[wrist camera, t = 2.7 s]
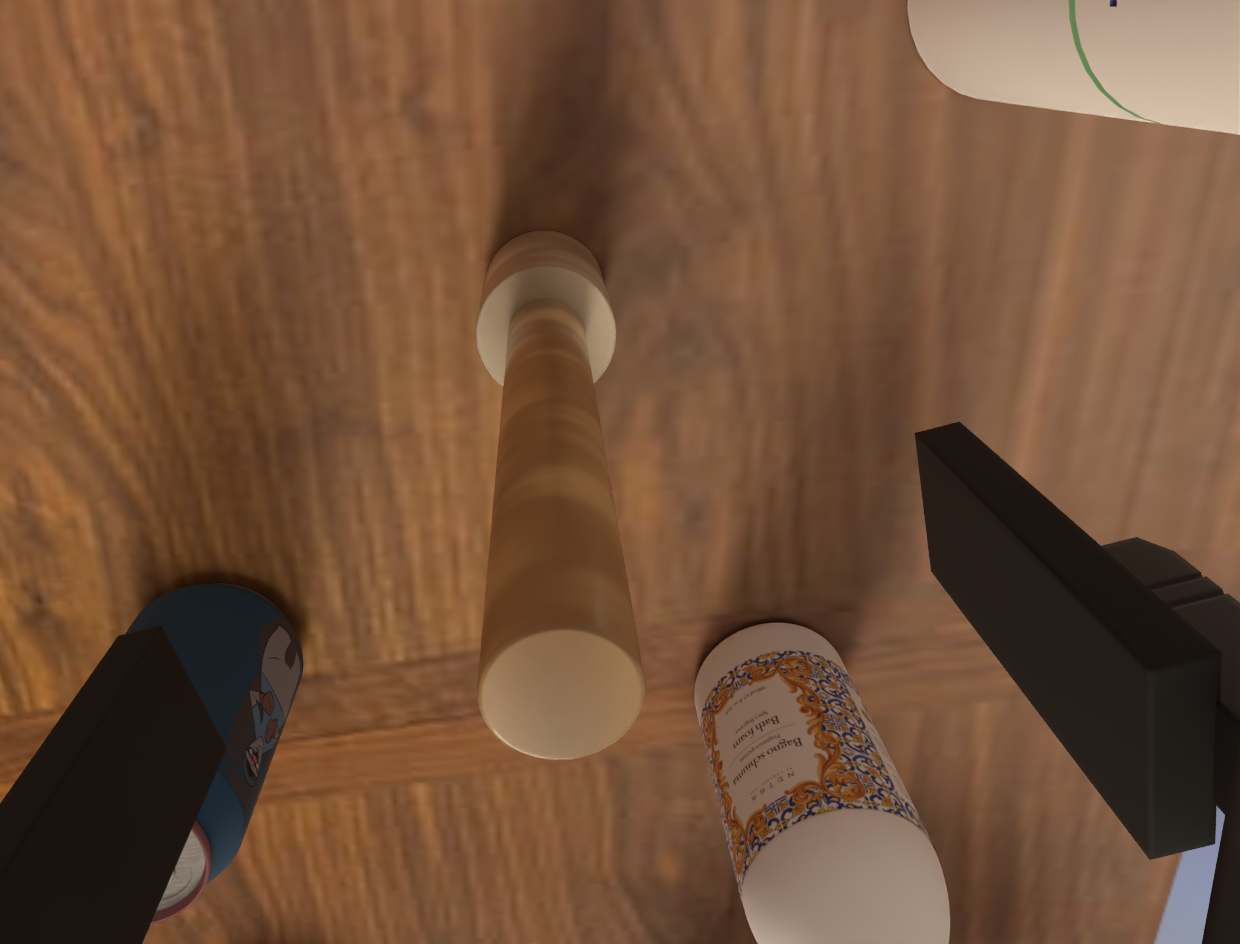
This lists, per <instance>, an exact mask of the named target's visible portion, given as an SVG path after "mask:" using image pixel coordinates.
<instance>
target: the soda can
mask: <svg viewBox="0 0 1240 944" xmlns="http://www.w3.org/2000/svg"><path fill="white" fill-rule="evenodd" d="M160 625H162V627H163V629H164V631H165V633H166V635H167V637H168V638H169V640H170V642H171V644H172V646H173V648H174V650H175V652H176V653H177V655H178V657H179V659H180V661H181V663H182V665H183V667H184V668H185V670H186V672H187V674H188V676H189V678H190V680H191V681H192V683H193V685H194V687H195V689H196V691H197V693H198V695H199V696H200V698H201V700H202V702H203V704H204V706H205V708H206V710H207V711H208V713H209V715H210V717H211V719H212V721H213V723H214V725H215V726H216V728H217V730H218V732H219V734H220V736H221V738H222V740H223V741H224V743H225V745H226V747H227V750H226V752H225V754H224V757H223V759H222V761H221V763H220V766H219V768H218V770H217V773H216V775H215V777H214V779H213V782H212V784H211V786H210V789H209V791H208V793H207V796H206V798H205V800H204V802H203V805H202V807H201V809H200V812H199V814H198V816H197V818H196V821H195V823H194V825H193V828H192V830H191V832H190V835H189V837H188V839H187V841H186V844H185V846H184V848H183V851H182V853H181V855H180V857H179V860H178V862H177V864H176V867H175V869H174V871H173V874H172V876H171V878H170V880H169V883H168V885H167V887H166V890H165V892H164V894H163V896H162V899H161V901H160V903H159V906H158V908H157V910H156V913H155V915H154V917H153V919H152V922H151V924H152V923H156V922H159V921H163V920H165V919H168V918H170V917H172V916H175V915H176V914H178V913H180V912H182V911H183V910H185V909H186V908H187V907H188V906H190V905H191V904H192V903H193V902H194V901H195V900H196V899H197V898H198V897H199V895H200V894H201V893H202V891H203V889H204V888H205V886H206V884H207V883H209V882H210V881H211V880H212V879H214V878H215V877H216V876H217V875H219V874H220V873H221V872H222V871H223V870H224V869H225V868H226V867H227V866H228V865H229V864H230V863H231V861H232V860H233V858H234V857H235V856H236V854H237V852H238V850H239V848H240V846H241V843H242V840H243V838H244V835H245V832H246V829H247V827H248V824H249V821H250V818H251V816H252V813H253V810H254V807H255V805H256V802H257V799H258V796H259V794H260V791H261V788H262V785H263V783H264V780H265V777H266V774H267V772H268V769H269V766H270V763H271V761H272V758H273V755H274V752H275V750H276V747H277V744H278V741H279V739H280V736H281V733H282V730H283V728H284V725H285V722H286V719H287V717H288V714H289V711H290V708H291V706H292V703H293V700H294V697H295V695H296V692H297V689H298V686H299V684H300V681H301V677H302V672H303V654H302V649H301V645H300V642H299V640H298V637H297V635H296V633H295V631H294V629H293V628H292V626H291V624H290V623H289V621H288V620H287V619H286V617H285V616H284V615H283V614H282V612H281V611H280V610H279V609H278V608H277V607H276V606H275V605H274V604H273V603H272V602H271V601H269V600H268V599H267V598H265V597H264V596H262V595H260V594H258V593H256V592H254V591H252V590H250V589H247V588H244V587H241V586H237V585H232V584H223V583H213V584H200V585H193V586H187V587H183V588H179V589H176V590H173V591H171V592H168V593H166V594H164V595H162V596H160V597H159V598H157V599H155V600H154V601H152V602H151V603H150V604H149V605H147V606H146V607H145V608H144V609H143V610H142V611H141V612H140V613H139V615H138V616H137V617H136V619H135V620H134V622H133V623H132V625H131V626H130V628H129V629H128V631H127V632H126V634H128V633H132V632H136V631H140V630H144V629H148V628H152V627H156V626H160Z"/></svg>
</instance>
